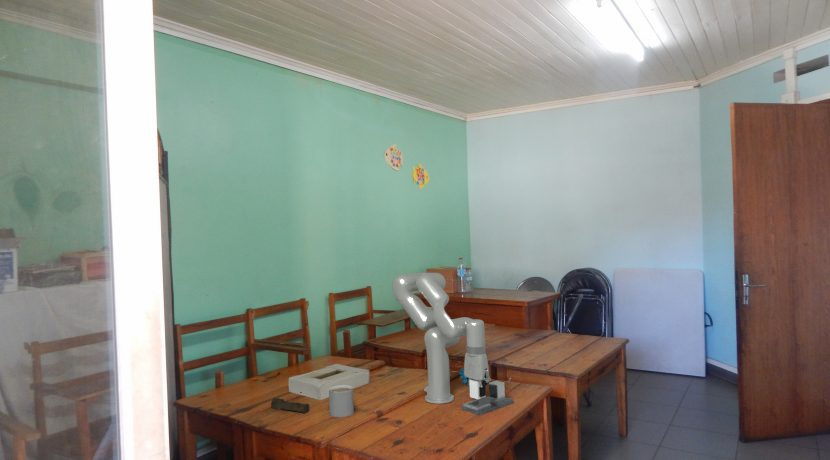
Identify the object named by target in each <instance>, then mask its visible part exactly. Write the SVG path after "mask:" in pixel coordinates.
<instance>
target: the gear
mask: <svg viewBox="0 0 830 460" xmlns="http://www.w3.org/2000/svg"><path fill="white" fill-rule="evenodd" d="M459 375H460V380H463V381H462V382H461V383H462V384H463V385H464V384H466V383H467V386H468V387H470V384H469V383H468V380H467V378H466V377H465V376H464V367H463V368H460V370H459Z"/></svg>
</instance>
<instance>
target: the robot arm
mask: <svg viewBox="0 0 830 460" xmlns="http://www.w3.org/2000/svg"><path fill="white" fill-rule="evenodd" d="M446 285H447V280H446V279H445V277H444V275H443V274H441V273H439V272H422V271H421V272H420V271H419V272H411V273H403V274H400V275H398V276H396V277H395V278H394V279H393V281H392V293H393V296H394V298H395V300H396V301H397V302H398V303H399V304H400V306H401V307H402V308H403V309H404V311H406V313H407V315H408V316H409V317H410V319H411V320H412V322H413V323H414V324H415V326H416V327H417V328H418V329H419V330H422V331H425V333H424V337H423V339H424V345H425V346H424V347H425V350H426V362H427V364H426V365H427V385H426V386H425V387H424V389H423V391H424V392H426V395H425V396H424V400H425V401H426V402H428V403H430V404H439V405H440V404H441V405H442V404H447V403H451V402H453V401H454V399H455V396H454V394H452V393H451V383H450V382H451V381H450V378H451V377H450V376H451V375H450V358H449V354H448V352H447V350H446V348H448V347H451V346H454V345H457V343H459V342H460V339H461V337H464V336H465V337H466V345H465V349H466V352H465V354H464V364H463V366H464V367H463V368H464V370H463V371H464V376H465V377H466V378H467V380H468V382H467V384H468V383H469V384H470V382H469V380H471V379H475V380H479V383H480V387H479V396H480V397H483V396H485V395H487V388H486V389H485V386H486V387H487V385H489V383H490V382H492V378H491V377H490V372H489V371H490V370H489V369H490V368H489V361H488V356H487V353H486V336H485V335H486V333H485V331H486V330H485V322H484V320H482V319H479V318H478V319H477V318H476V319H474V318H472V317H471V318H470V317H466V316H464V317H458V318H454V319H453V318H452V319H451V317H450V315H449V314H448V313H447V312H446V310H445V307H446V306H447V305H448V303H449V301H450V296H449V294H448V293H447V292H446V291H445V290H444V289H445V288H446ZM414 292H420V293H421V295H422V296H423V297H424V299H425V300H426V301H427V302H428V304H430V307H429V306H427V305H426V304H425V303H424V302H423V300H422V299H420V297H419V296H418V295H416V294H414ZM482 380H483V383H482Z"/></svg>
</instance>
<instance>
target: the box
mask: <svg viewBox="0 0 830 460" xmlns="http://www.w3.org/2000/svg"><path fill="white" fill-rule="evenodd" d="M367 384H370V370H369V369H366V368H365V369H364V368H358V367H354V366H348V365H344V364H339V363H334V364H332V365H327V366H325V367H322V368H320V369H319V368H318V369H317V370H313V371H310V372H306V373H303V374H297V375H293V376H290V377H288V392H289V393H293V394H295V395H300V396H303V397H307V398H312V399H316V400H318V401H322V400H325V399H327V398H328V399H329V389H330V388H331V387H334V386H339V385H348V386H352V387H353V389H355V388H358V387H362V386H366V385H367ZM300 392H302V393H300Z"/></svg>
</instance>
